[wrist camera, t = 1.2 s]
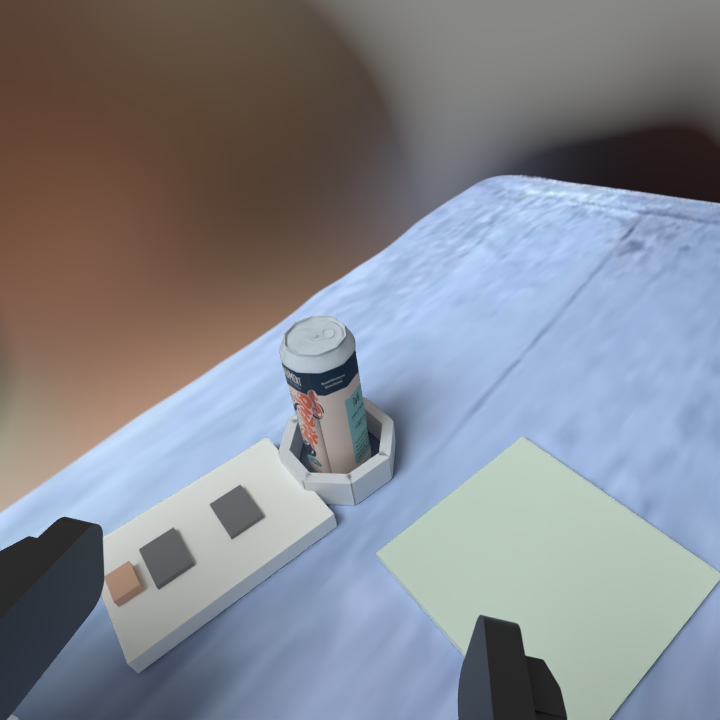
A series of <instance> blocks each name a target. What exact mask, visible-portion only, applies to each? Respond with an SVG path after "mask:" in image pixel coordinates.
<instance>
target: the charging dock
mask: <svg viewBox="0 0 720 720" xmlns="http://www.w3.org/2000/svg"><path fill="white" fill-rule="evenodd" d="M363 404H364V410H365V417H366V424H367V430H368V431H369V432H371V433H372V434H373V435H374V436H375V437H376V438H377V439H378V440H379V441H380V448H379V453H378V454H376V455H375V456H373V457H372V458H371V459H369V460H368V461H366V462H365V463H363V464H362V465H361V466H359V467H358V468H356V469H355V470H353V471H352V472H350V473H349V474H334V473H310V472H309V471H308V470H307V469H306V468H305V467H304V466H303V465H302V463H301V462H300V461H299V458H300V454H301V451H302V447H303V443H304V441H303V437H302V434H301V430H300V426H299V423H298V419H297V416H296V414H295V415H293V416H292V417H290V418H289V419H288V421H287V424H286V428H285V431H284V434H283V437H282V441H281V444H280V447H279V450H278V449H277V448H276V447H275V446H274V445H273V444H272V442H271V441H270V440H269V439H268V438H267V437H266V438H264V439H263V440H261V441H259V442H258V443H256V444H255V445H253V446H251V447H250V448H248V449H246V450H245V451H243V452H241V453H240V454H238V455H237V456H235V457H233V458H232V459H230V460H228V461H227V462H225V463H223V464H222V465H220V466H219V467H217V468H215V469H214V470H212V471H210V472H209V473H207V474H205V475H204V476H202V477H201V478H199V479H197V480H196V481H194V482H192V483H191V484H189V485H187V486H186V487H184V488H183V489H181V490H179V491H178V492H176V493H174V494H173V495H171V496H169V497H168V498H166V499H165V500H163V501H161V502H160V503H158V504H156V505H155V506H153V507H151V508H150V509H148V510H147V511H145V512H143V513H142V514H140V515H138V516H137V517H135V518H133V519H132V520H130V521H129V522H127V523H125V524H124V525H122V526H120V527H119V528H117V529H115V530H114V531H112V532H111V533H109V534H107V535H106V536H104V537H103V553H104V586H103V590H102V593H101V595H102V598H103V600H104V603H105V606H106V608H107V611H108V614H109V616H110V619H111V622H112V624H113V627H114V630H115V632H116V635H117V637H118V640H119V643H120V645H121V648H122V651H123V653H124V656H125V659H126V661H127V664H128V665H129V666H130V667H131V668H132V669H133V670H135V671H136V672H137V673H138V674H139V673H140V672H141V671H143V670H144V669H145V668H147V667H148V666H149V665H151V664H152V663H153V662H155V661H156V660H158V659H159V658H160V657H162V656H163V655H164V654H166V653H167V652H168V651H170V650H171V649H172V648H174V647H175V646H176V645H178V644H179V643H180V642H182V641H183V640H185V639H186V638H187V637H189V636H190V635H191V634H193V633H194V632H195V631H197V630H198V629H199V628H201V627H202V626H203V625H205V624H206V623H207V622H209V621H210V620H212V619H213V618H214V617H216V616H217V615H218V614H220V613H221V612H222V611H224V610H225V609H226V608H228V607H229V606H230V605H232V604H233V603H234V602H236V601H237V600H239V599H240V598H241V597H243V596H244V595H245V594H247V593H248V592H249V591H251V590H252V589H253V588H255V587H256V586H257V585H259V584H260V583H261V582H263V581H264V580H266V579H267V578H268V577H270V576H271V575H272V574H274V573H275V572H276V571H278V570H279V569H280V568H282V567H283V566H284V565H286V564H287V563H289V562H290V561H291V560H293V559H294V558H295V557H297V556H298V555H299V554H301V553H302V552H303V551H305V550H306V549H307V548H309V547H310V546H311V545H313V544H314V543H316V542H317V541H318V540H320V539H321V538H322V537H324V536H325V535H326V534H328V533H329V532H330V531H332V530H333V529H334V528H336V527H337V523H336V519H335V515H334V513H333V512H332V511H331V510H330V509H329V507H328V506H327V505H326V504H334V505H355V504H356V505H357V504H359V503H360V502H361V501H363V500H364V499H365V498H367V497H368V496H370V495H371V494H372V493H374V492H375V491H376V490H378V489H379V488H380V487H382V486H383V485H385V484H386V483H387V482H389V481H390V480H391V479H392V478H393V468H394V457H395V447H396V440H395V430H394V421H393V420H392V419H391V418H390V417H389V416H388V415H386V414H385V413H384V412H383V411H382V410H380V409H379V408H378V407H377V406H376V405H374V404H373V403H372V402H371V401H370V400H368V399H367V398H366V399H365V397H363Z"/></svg>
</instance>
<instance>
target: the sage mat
mask: <svg viewBox="0 0 720 720" xmlns="http://www.w3.org/2000/svg"><path fill="white" fill-rule="evenodd" d="M376 556H377V559H378V560H379V561H380V562H381V563H382V564H383V565H384V567H385V568H386V569H387V570H388V571H389V572H390V573H391V574H392V576H393V577H394V578H395V579H396V580H397V581H398V582H399V584H400V585H401V586H402V587H403V588H404V589H405V590H406V591H407V593H408V594H409V595H410V596H411V597H412V598H413V599H414V601H415V602H416V603H417V604H418V605H419V606H420V607H421V608H422V610H423V611H424V612H425V613H426V614H427V615H428V616H429V618H430V619H431V620H432V621H433V622H434V623H435V624H436V625H437V627H438V628H439V629H440V630H441V631H442V632H443V633H444V634H445V636H446V637H447V638H448V639H449V640H450V641H451V642H452V644H453V645H454V646H455V647H456V648H457V649H458V650H459V651H460V653H461V654H462V655H463V656H464V657H465V656H466V652H467V649H468V646H469V643H470V640H471V637H472V634H473V630H474V627H475V624H476V621H477V619H478V617H479V615H484V616H488V617H493V618H497V619H501V620H505V621H510V622H514V623H517V624H518V625H519V626H520V629H521V634H522V640H523V645H524V651H525V655H526V656H530V657H535V658H539V659H543V660H544V661H545V663H546V664H547V666H548V668H549V669H550V671H551V673H552V674H553V676H554V678H555V679H556V681H557V683H558V684H559V686H560V688H561V692H562V696H563V700H564V705H565V709H566V713H567V720H609V719H610V718H611V717H612V716H613V714H614V713H615V712H616V711H617V709H618V708H619V707H620V706H621V704H622V703H623V702H624V701H625V699H626V698H627V697H628V695H629V694H630V693H631V692H632V690H633V689H634V688H635V687H636V685H637V684H638V683H639V682H640V680H641V679H642V678H643V676H644V675H645V674H646V673H647V671H648V670H649V669H650V668H651V666H652V665H653V664H654V663H655V661H656V660H657V659H658V657H659V656H660V655H661V654H662V652H663V651H664V650H665V649H666V647H667V646H668V645H669V644H670V642H671V641H672V640H673V639H674V637H675V636H676V635H677V633H678V632H679V631H680V630H681V628H682V627H683V626H684V625H685V623H686V622H687V621H688V620H689V618H690V617H691V616H692V614H693V613H694V612H695V611H696V609H697V608H698V607H699V606H700V604H701V603H702V602H703V601H704V599H705V598H706V597H707V595H708V594H709V593H710V592H711V590H712V589H713V588H714V587H715V585H716V584H717V583H718V582H719V580H720V572H718V571H717V570H715V569H714V568H712V567H711V566H710V565H708V564H707V563H705V562H704V561H702V560H701V559H699V558H698V557H697V556H695V555H694V554H692V553H691V552H689V551H688V550H686V549H685V548H684V547H682V546H681V545H679V544H678V543H676V542H675V541H673V540H672V539H671V538H669V537H668V536H666V535H665V534H663V533H662V532H660V531H659V530H658V529H656V528H655V527H653V526H652V525H650V524H649V523H647V522H646V521H645V520H643V519H642V518H640V517H639V516H637V515H636V514H634V513H633V512H632V511H630V510H629V509H627V508H626V507H624V506H623V505H621V504H620V503H618V502H617V501H616V500H614V499H613V498H611V497H610V496H608V495H607V494H605V493H604V492H603V491H601V490H600V489H598V488H597V487H595V486H594V485H592V484H591V483H590V482H588V481H587V480H585V479H584V478H582V477H581V476H579V475H578V474H577V473H575V472H574V471H572V470H571V469H569V468H568V467H566V466H565V465H564V464H562V463H561V462H559V461H558V460H556V459H555V458H553V457H552V456H551V455H549V454H548V453H546V452H545V451H543V450H542V449H540V448H539V447H538V446H536V445H535V444H533V443H532V442H530V441H529V440H527V439H526V438H525V437H523V436H522V437H521V438H520V439H518V440H517V441H516V442H515V443H513V444H512V445H511V446H510V447H508V448H507V449H506V450H504V451H503V452H502V453H501V454H499V455H498V456H497V457H496V458H494V459H493V460H492V461H491V462H489V463H488V464H487V465H486V466H484V467H483V468H482V469H481V470H479V471H478V472H477V473H476V474H474V475H473V476H472V477H471V478H469V479H468V480H467V481H466V482H464V483H463V484H462V485H461V486H459V487H458V488H457V489H456V490H454V491H453V492H452V493H450V494H449V495H448V496H447V497H445V498H444V499H443V500H442V501H440V502H439V503H438V504H437V505H435V506H434V507H433V508H432V509H430V510H429V511H428V512H427V513H425V514H424V515H423V516H422V517H420V518H419V519H418V520H417V521H415V522H414V523H413V524H412V525H410V526H409V527H408V528H407V529H405V530H404V531H403V532H402V533H400V534H399V535H398V536H396V537H395V538H394V539H393V540H391V541H390V542H389V543H388V544H386V545H385V546H384V547H383V548H381V549H380V550H379V551H378V552H376Z"/></svg>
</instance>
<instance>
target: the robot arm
mask: <svg viewBox="0 0 720 720" xmlns="http://www.w3.org/2000/svg"><path fill="white" fill-rule="evenodd" d="M103 586H104V553H103V531H102V528H101V526H100V525H98V524H94V523H90V522H85V521H81V520H77V519H72V518H68V517H62V518H60V519H58V520H57V521H55V522H54V523H53V524H52V525H51V526H50V527H49V528H48V529H47V530H46V531H44V532H43V533H42V534H41V535H40V536H39V537H38V538H34V537H30V536H28V537H26V538H25V539H23V540H21V541H19V542H17V543H15V544H13V545H11V546H9V547H7V548H5V549H3V550H1V551H0V720H7V719H8V718H9V717H10V715H11V714H12V713H13V711H14V710H15V709H16V708H17V706H18V705H19V704H20V703H21V701H22V700H23V699H24V697H25V696H26V695H27V694H28V692H29V691H30V690H31V688H32V687H33V686H34V685H35V683H36V682H37V681H38V680H39V678H40V677H41V676H42V674H43V673H44V672H45V671H46V669H47V668H48V667H49V665H50V664H51V663H52V662H53V660H54V659H55V658H56V657H57V655H58V654H59V653H60V651H61V650H62V649H63V648H64V646H65V645H66V644H67V643H68V641H69V640H70V639H71V637H72V636H73V635H74V634H75V632H76V631H77V630H78V628H79V627H80V626H81V625H82V623H83V622H84V621H85V620H86V618H87V617H88V616H89V614H90V613H91V612H92V610H93V609H94V607H95V606H96V604H97V602H98V600H99V598H100V596H101V593H102V590H103ZM458 720H567V713H566V709H565V705H564V700H563V696H562V692H561V688H560V686H559V684H558V683H557V681H556V679H555V678H554V676H553V674H552V673H551V671H550V669H549V668H548V666H547V664H546V663H545V661H544V660H543V659H539V658H535V657H530V656H526V655H525V651H524V645H523V640H522V634H521V629H520V626H519V625H518V624H517V623H514V622H510V621H505V620H501V619H497V618H493V617H488V616H484V615H479V617H478V619H477V621H476V624H475V627H474V630H473V634H472V637H471V640H470V643H469V646H468V649H467V652H466V656H465V659H464V662H463V665H462V669H461V673H460V679H459V688H458Z"/></svg>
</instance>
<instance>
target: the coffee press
mask: <svg viewBox="0 0 720 720" xmlns="http://www.w3.org/2000/svg"><path fill="white" fill-rule="evenodd" d="M7 720H19V719H18V718H17V717H15V716H14V715H12V714H11V715H10V717H9V718H8V719H7Z"/></svg>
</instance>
